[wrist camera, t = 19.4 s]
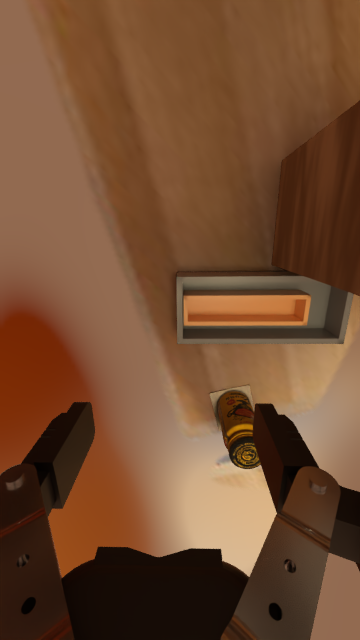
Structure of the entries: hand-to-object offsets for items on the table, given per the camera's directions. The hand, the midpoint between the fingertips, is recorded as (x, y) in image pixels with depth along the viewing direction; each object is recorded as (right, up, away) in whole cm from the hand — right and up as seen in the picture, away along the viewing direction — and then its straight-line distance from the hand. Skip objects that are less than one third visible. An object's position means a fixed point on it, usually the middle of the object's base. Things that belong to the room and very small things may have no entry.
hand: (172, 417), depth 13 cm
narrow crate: (+10, +7, +28) cm, 31 cm away
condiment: (+10, -11, +36) cm, 39 cm away
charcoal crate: (+12, +8, +29) cm, 32 cm away
